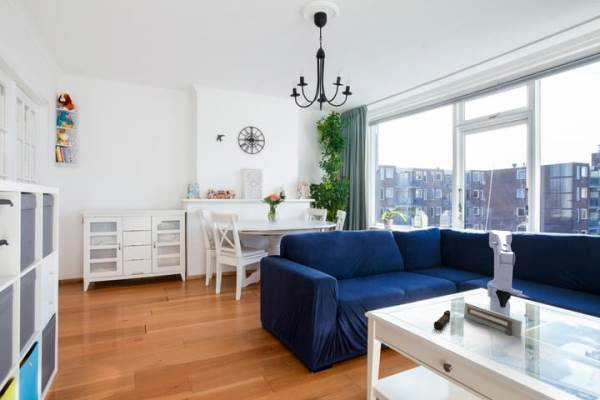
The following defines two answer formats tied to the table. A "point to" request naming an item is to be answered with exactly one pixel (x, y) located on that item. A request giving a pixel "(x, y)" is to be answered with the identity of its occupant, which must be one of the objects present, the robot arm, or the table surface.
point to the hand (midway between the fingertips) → (502, 307)
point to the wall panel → (514, 330)
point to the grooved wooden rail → (489, 317)
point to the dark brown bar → (442, 320)
